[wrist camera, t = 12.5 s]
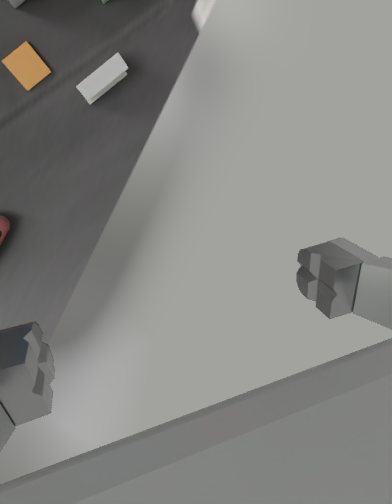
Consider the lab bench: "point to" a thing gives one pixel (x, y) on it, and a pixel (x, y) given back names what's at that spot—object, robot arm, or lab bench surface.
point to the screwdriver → (3, 228)
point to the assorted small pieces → (34, 70)
